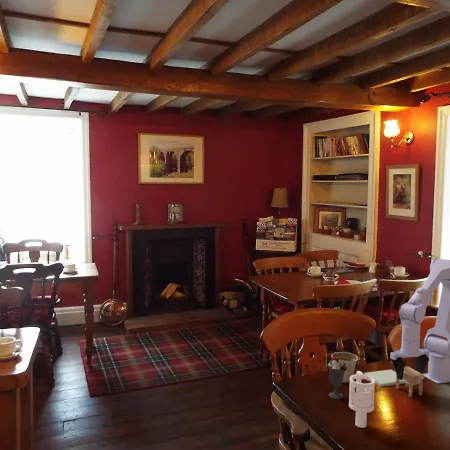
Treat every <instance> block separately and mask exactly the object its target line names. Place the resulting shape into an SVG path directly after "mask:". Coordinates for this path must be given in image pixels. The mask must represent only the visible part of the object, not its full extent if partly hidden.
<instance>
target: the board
mask: <svg viewBox="0 0 450 450" xmlns="http://www.w3.org/2000/svg"><path fill="white" fill-rule="evenodd" d="M363 375H367V376H370V377H372V378H373V379H374V380H375V385H378V386H379V387H380V388H381V387H387V386H394V385H395V386H396V372H395V370H393V369H384V370H377V371H371V372H369V371H368V372H364V373H363ZM402 384H406V382H405V381H403V380H399V385H402Z"/></svg>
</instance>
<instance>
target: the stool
mask: <svg viewBox="0 0 450 450" xmlns="http://www.w3.org/2000/svg"><path fill="white" fill-rule="evenodd" d="M394 371H395V370H394ZM395 372H396V371H395ZM423 374H424V373H422V374H421V373H419V372H417V371H416V370H415V368H414V369H413V368H412V367H410V366H405V367H404V372H403V381H405V382H406V383H405V384H404V385H405V388H408V397H409V398H412V397H413V386H414V385H418V396H423V384H424V382H423V381H424V380H425V376H424V375H423ZM399 380H400V379H398V378H397V375H396V385H395V388H396V389H397V390H399V389H400V384H399Z"/></svg>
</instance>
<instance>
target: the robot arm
mask: <svg viewBox="0 0 450 450" xmlns="http://www.w3.org/2000/svg"><path fill="white" fill-rule="evenodd" d="M429 265H430V266H429V271H430V273H429V274H428V276H427V278H426V279H425V282H424V284H423V285H422V287H417V288H416V289H415V291H414V293H413V294H412V296H411V297H410V298H409V300H408V302H405V303H403V304H401V306H400V308H399V311H398V314H399V318H400V324H401V328H402V329H401V346H400V349H398V350H395V351H393V352H392V351H391V352H390V357H389V358H390V361H391V362H392V364H393V368H394V371H396V375H397V378H398V379H400V380H403V372H404V367H406V364H407V362H406V361H404V359H407V358H414V370H416V371H417V372H419V373H421V374H423V375H424V378H427V379H428V380H430V381H432V382H434V383H435V384H446V383H450V259H445V258H438V257H434V258H433V259H432V261H431V263H430V264H429ZM440 284H441V285H442V287H441V292H440V298H439V302H438V304H439V305H438V308H437V309H438V310H437V314H436V320H435V324H434V326H433V327H432V328H430V329H427V332H426V335H425V337H424V340H423V347H424V348H420V343H421V342H420V341H421V325H422V324H421V323H422V322H423V320H424V319H425V315H426V311H427V307H428V305H430V303H431V302H432V300H433V297H434V296H433V293H434V291H435V290H436V289H437V288H438V286H439V285H440ZM427 364H428V366H427ZM426 366H427V367H428V368H427V373H423V372H424V370H425V369H426Z"/></svg>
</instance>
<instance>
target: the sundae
mask: <svg viewBox="0 0 450 450" xmlns="http://www.w3.org/2000/svg"><path fill="white" fill-rule="evenodd" d="M329 352H330V353H331V355H332V354H333V353H334V352H333V351H329ZM334 356H335V355H334ZM345 364H346V363H344V364H342V361H341V360H340V359H338V358H337V357H334V358H333V357H332V356H331V358H330V360H329V362H328V364H327V365H326V368H327V369H328V373H329V374H328V375H329V380H330V383H331V385H333V387H334V390H333V392H329V393H328V397H329V398H331V399H333V400H341V399H343V398H344V394H342V393H340V392H339V387H340V386H341V385H343V377H344V372H345V371H346V370H347V366H346V365H345Z"/></svg>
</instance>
